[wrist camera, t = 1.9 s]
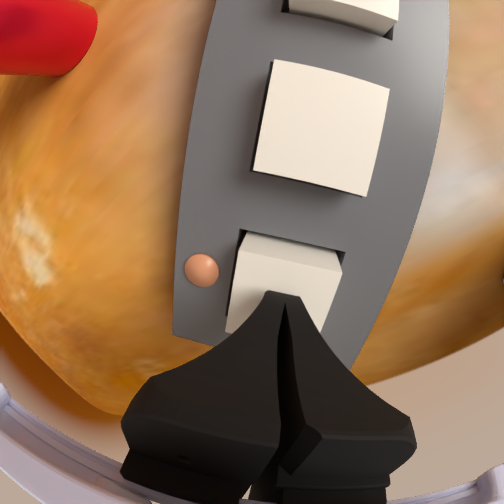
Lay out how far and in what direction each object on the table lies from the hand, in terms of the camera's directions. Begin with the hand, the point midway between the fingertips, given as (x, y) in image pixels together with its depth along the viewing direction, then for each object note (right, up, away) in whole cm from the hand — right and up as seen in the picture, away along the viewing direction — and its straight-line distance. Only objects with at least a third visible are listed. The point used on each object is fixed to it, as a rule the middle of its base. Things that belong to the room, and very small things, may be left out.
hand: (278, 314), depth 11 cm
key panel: (+2, +8, +1) cm, 8 cm away
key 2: (+1, +2, +4) cm, 5 cm away
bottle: (-13, +16, 0) cm, 21 cm away
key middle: (+2, +8, +1) cm, 8 cm away
